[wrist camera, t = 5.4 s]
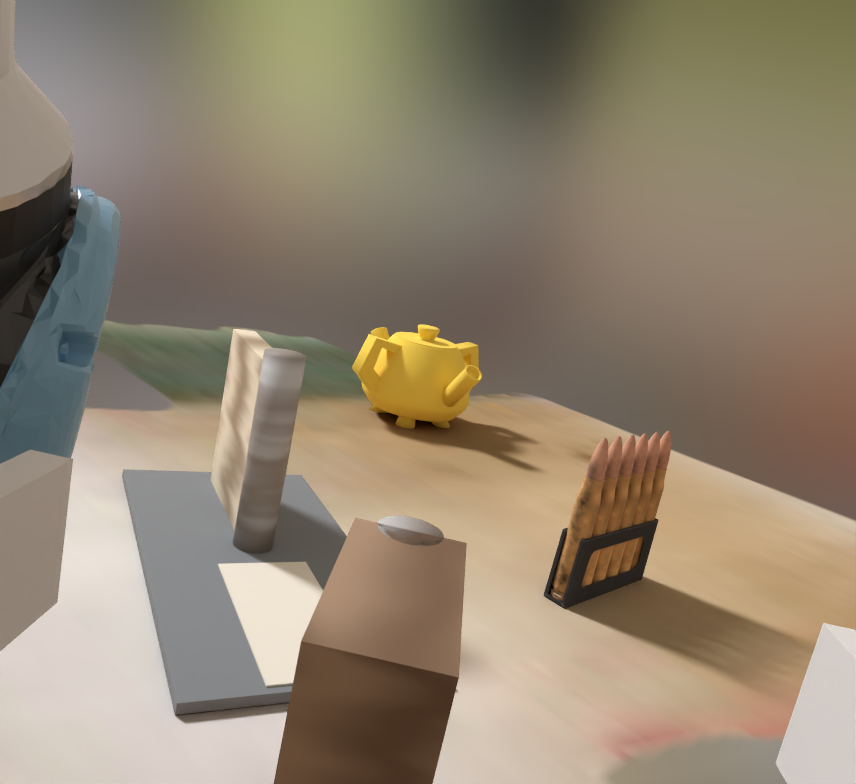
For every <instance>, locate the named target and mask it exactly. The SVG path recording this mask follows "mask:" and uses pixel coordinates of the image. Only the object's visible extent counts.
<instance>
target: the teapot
mask: <svg viewBox="0 0 856 784" xmlns="http://www.w3.org/2000/svg"><path fill="white" fill-rule="evenodd" d="M439 331H440V330H439V329H438V328H436V327H433V326H429V325H418V332H419V334H418V333H411V332H397V333H395V334H394V335H393V336H391V337H390V338H389V334H388V331H387V328H383V327H382V328H377V329H374V330H373V331H371V335H370V334H369V335H368V337H367V339H366V341H365V343H364V345H363V347H362V349H361V351H360V353H359V355H358V357H357V359H356V360H355V362H354V364H353V366H352V369H353V370H354V372H355V373H356V374H357V376H358V377H359V378H360V380H361V381H362V388H363V390H364V392H365V394H366V396H367V398H368V399H369V401H370V402H371V403H372V404H373V406H372V407H370V410H372V411H374V412H378V413H388V412H389V413H392V414H395V415H398V416H399V417H398V419H397V422H396V425H397V426H399V427H402V428H407V429H413V428H415V420H422V421H432V424H433V425H435V426H438V427H441V428H450V424H449V422H448V421H450V420H453V419H454V418H455V417H457V416H458V415H460V414H461V413H462V412H463V411H464V410H465V409H466V408H467V406H468V403H469V393H470V390H471V389H472V388H473V387H474V386H475V385H476V384H477V383H478V382H479V381H480V380H481V379H482V374H481V372H480V370H479V367H478V345H475V344H473V343H470V342H465V343H460V344H453V343H451V342H449V341H447V340H443V339H440V338H437V335H438V333H439Z"/></svg>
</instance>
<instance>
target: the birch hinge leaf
mask: <svg viewBox="0 0 856 784" xmlns="http://www.w3.org/2000/svg"><path fill="white" fill-rule="evenodd" d="M305 362H306V356H305V355H303V354H301V353H298V352H295V351H291V350H286V349H279V348H272V347H271V346H269V345H268V344H267V343H266V342H265V341H264V340H263V339H262V338H261V337H260V336H259V335H258V334H257V333H256V332H255V331H248V330H239V329H233V336H232V342H231V349H230V355H229V362H228V368H227V375H226V381H225V388H224V394H223V401H222V407H221V414H220V420H219V427H218V433H217V440H216V446H215V453H214V459H213V466H212V472H211V479H210V480H211V482H212V484H213V486H214V488H215V490H216V493H217V495H218V497H219V499H220V501H221V503H222V505H223V508H224V510H225V512H226V514H227V516H228V518H229V520H230V522H231V525H232V527H233V529H234V538H233V545H234V546H235V547H236V548H237V549H239V550H241V551H244V552H247V553H255V554H259V553H266V552H268V551H270V550H271V549H272V548H273V543H274V537H275V531H276V526H277V520H278V514H279V509H280V503H281V497H282V492H283V486H284V480H285V475H286V469H287V464H288V458H289V452H290V447H291V441H292V435H293V430H294V424H295V418H296V413H297V407H298V401H299V396H300V390H301V384H302V379H303V373H304V368H305Z"/></svg>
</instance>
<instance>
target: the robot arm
mask: <svg viewBox="0 0 856 784" xmlns="http://www.w3.org/2000/svg"><path fill="white" fill-rule="evenodd" d="M14 24H15V0H0V651H1V650H2V649H3V648H5V647H6V646H7V645H8V644H9V643H10V642H12V641H13V640H14V639H15V638H16V637H17V636H19V635H20V634H21V633H22V632H23V631H24V630H26V629H27V628H28V627H29V626H30V625H31V624H33V623H34V622H35V621H36V620H37V619H38V618H39V617H41V616H42V615H43V614H44V613H45V612H46V611H48V610H49V609H50V608H51V607H52V606H53V605H55V604H56V603H57V599H58V590H59V581H60V572H61V563H62V554H63V545H64V536H65V527H66V517H67V508H68V499H69V490H70V481H71V472H72V463H73V459H71V456H72V453H73V449H74V446H75V442H76V438H77V435H78V431H79V427H80V424H81V420H82V416H83V412H84V408H85V404H86V400H87V396H88V391H89V387H90V383H91V378H92V374H93V367H94V359H93V354H94V353H95V351H96V350H97V349H98V345H99V340H100V335H101V330H102V326H103V323H104V320H105V317H106V314H107V309H108V304H109V300H110V295H111V290H112V285H113V279H114V273H115V268H116V262H117V255H118V249H119V242H120V229H121V228H120V227H121V218H120V213H119V211H118V209H117V207H116V206H115V205H114V204H113V203H112V202H111V201H109V200H107V199H105V198H102V197H99V196H96V194H95V193H94V192H93V191H92V190H91V189H85V188H86V187H85V186H78V185H76V186H75V187H74V188H70V187H71V173H72V159H73V138H72V134H71V131H70V127H69V125H68V123H67V121H66V119H65V118H64V117H63V115H62V114H61V113H60V112H59V111H58V109H57V108H56V107H55V106H54V105H53V104H52V103H51V102H50V100H49V99H48V98H47V97H46V96H45V95H44V94H43V93H42V91H41V90H40V89H39V88H38V87H37V86H36V85H35V84H34V82H32V80H31V79H30V78H29V77H28V76H27V75H26V73H25V72H24V71H23V70H22V69H21V68H20V67H19V66H18V65H17V62H16V59H15V56H14ZM776 765H777V767H778V768H779V770H780V772H781V774H782V776H783V777H784V779H785V781H786V783H787V784H856V630H853V629H848V628H844V627H839V626H835V625H830V624H825V623H823V625H822V628H821V631H820V634H819V637H818V640H817V643H816V646H815V649H814V652H813V655H812V658H811V661H810V664H809V667H808V669H807V672H806V675H805V678H804V681H803V684H802V687H801V690H800V693H799V696H798V699H797V702H796V705H795V708H794V711H793V714H792V716H791V719H790V722H789V725H788V728H787V731H786V734H785V737H784V740H783V743H782V746H781V749H780V752H779V755H778V758H777V761H776Z"/></svg>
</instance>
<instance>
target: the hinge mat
mask: <svg viewBox="0 0 856 784" xmlns="http://www.w3.org/2000/svg"><path fill="white" fill-rule="evenodd" d="M122 478H123V482H124V487H125V491H126V496H127V500H128V505H129V509H130V514H131V518H132V523H133V527H134V532H135V536H136V541H137V546H138V550H139V555H140V559H141V564H142V568H143V573H144V577H145V582H146V586H147V591H148V595H149V600H150V604H151V609H152V613H153V618H154V622H155V627H156V631H157V636H158V640H159V645H160V649H161V654H162V658H163V663H164V667H165V672H166V676H167V681H168V685H169V690H170V694H171V699H172V703H173V708H174V712H175V715H179V714H188V713H197V712H206V711H215V710H224V709H233V708H243V707H252V706H261V705H270V704H279V703H288V702H290V696H291V691H292V686H293V681H294V676H295V670H296V665H297V660H298V655H299V650H300V644H301V640H302V638H303V636H304V633H305V631H306V629H307V627H308V624H309V622H310V620H311V617H312V615H313V613H314V611H315V608H316V606H317V604H318V602H319V599H320V597H321V595H322V592H323V590H324V588H325V586H326V583H327V581H328V579H329V577H330V574H331V572H332V570H333V567H334V565H335V563H336V561H337V558H338V556H339V554H340V552H341V549H342V547H343V545H344V542H345V540H346V538H347V536H346V535H345V533H344V532H343V531H342V529H341V528H340V527H339V525H338V524H337V523H336V521H335V520H334V519H333V517H332V516H331V514H330V513H329V512H328V510H327V509H326V508H325V506H324V505H323V504H322V502H321V501H320V500H319V498H318V497H317V495H316V494H315V493H314V491H313V490H312V489H311V487H310V486H309V485H308V483H307V482H306V481H305V479H304V478H303V476H302V475H285V480H284V486H283V492H282V497H281V503H280V509H279V514H278V520H277V526H276V531H275V537H274V543H273V548H272V549H271V550H270V551H268V552H266V553H259V554H255V553H247V552H244V551H241V550H239V549H237V548H236V547H235V546H234V545H233V538H234V529H233V527H232V525H231V522H230V520H229V518H228V516H227V514H226V512H225V510H224V508H223V505H222V503H221V501H220V499H219V497H218V495H217V493H216V490H215V488H214V486H213V484H212V482H211V480H210V479H211V472H185V471H153V470H123V475H122Z"/></svg>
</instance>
